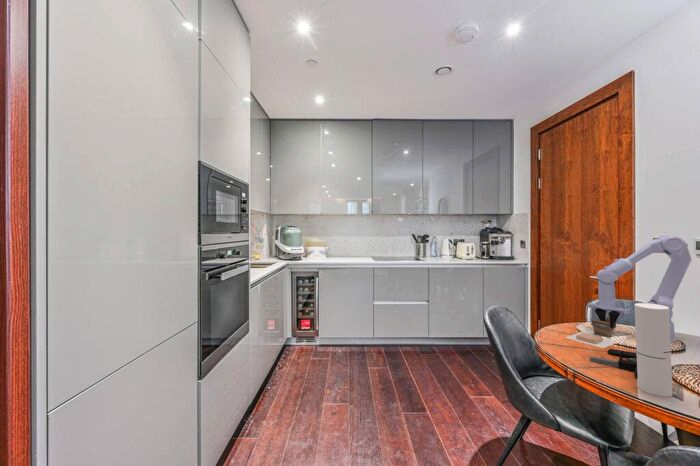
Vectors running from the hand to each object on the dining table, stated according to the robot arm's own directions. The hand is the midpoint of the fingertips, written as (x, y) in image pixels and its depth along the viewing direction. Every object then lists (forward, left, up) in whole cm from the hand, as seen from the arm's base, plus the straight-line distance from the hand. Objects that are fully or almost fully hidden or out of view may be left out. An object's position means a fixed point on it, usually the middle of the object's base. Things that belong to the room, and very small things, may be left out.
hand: (608, 326), depth 132 cm
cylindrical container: (+44, +29, -4) cm, 52 cm away
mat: (+9, 0, -3) cm, 9 cm away
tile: (+13, 0, -2) cm, 13 cm away
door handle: (+31, +16, -4) cm, 35 cm away
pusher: (+1, 0, -2) cm, 2 cm away
